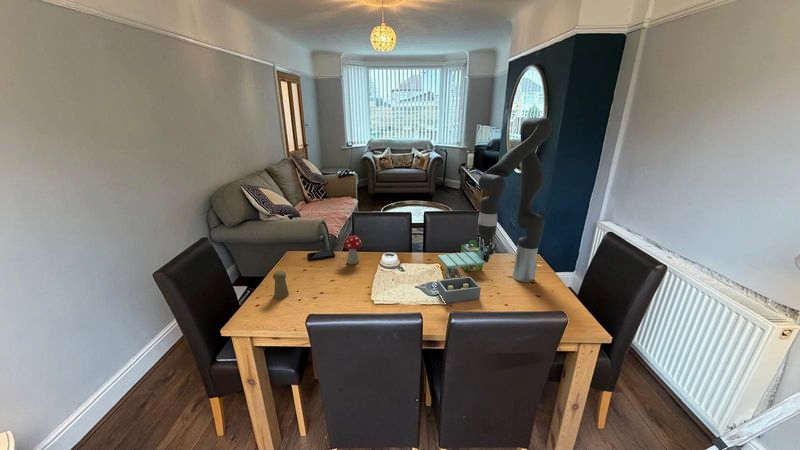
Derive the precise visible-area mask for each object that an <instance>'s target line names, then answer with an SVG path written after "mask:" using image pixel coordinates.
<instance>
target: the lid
mask: <svg viewBox="0 0 800 450" xmlns="http://www.w3.org/2000/svg"><path fill="white" fill-rule="evenodd" d="M487 250H488V249H487ZM487 250H486V252H487ZM483 256H484V250H478V255H477V254H476V253H474V252H465V253H461V252H455V253H446V254H445V253H444V254H438V255H437V258H438V259H439V261H441V262H442V264H444V267H447V268H454V267H455V268H459V267H461V268H462V266H470V265H479V264H483V265H485V264H486V263H485V261H484V260H483ZM490 259H491V255H489V260H490Z"/></svg>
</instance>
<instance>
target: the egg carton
mask: <svg viewBox="0 0 800 450" xmlns="http://www.w3.org/2000/svg"><path fill="white" fill-rule="evenodd" d="M444 271H445V272H444V275H445V277H446V279H454V278H456V277H457V278H463V273H462V271H461V270H460V269H459V267H452V268H447V267H446V266H444Z"/></svg>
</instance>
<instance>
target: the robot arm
mask: <svg viewBox="0 0 800 450" xmlns="http://www.w3.org/2000/svg"><path fill="white" fill-rule="evenodd" d="M552 130H553V123H552V121H551V119H549V118H547V117H526V118H525V119H523V122H522V123H521V125H520V143H519V144H517V145H516V146H514V147H512V148H511V149H509V150H508V151H506V153H504V155H503V156H502V157H501V158H500V159H499V160H498V162H496V164H494V165H493V166H491V167H490V168H489V169H487V170H486V171H484V172H483V173H482V174H481V175H480V177H479V179H478V187H479V189H480V190H482V191H484V192H488V193H489V196H484V197H482V198H481V201H480V206H479V207H480V208H479V214H478V219H477V221H478V222H477V233H476V234H475V240H476V242H477V248H479V250H484V256H483V260H484V261H485V264H486V263H489V260H490V259H489V255H490V256H491V255H493V254H494V252H495V249H496V247H497V244H496V243H494V242H493V241H494V239H493V237H494V236H495V235H496V233H497V225H498V213H499V212H498V210H499V204H500V202H501V198H502V196H503V193H504V191H505V188H506V181H505V180H506V179H505V178H508V177H510V176H511V175H512V173H513V172H514V171H515V170H516V169H517V168H518V166H519V165H520V164H521V166H520V167H521V169H520V171H521V172H520V191H519V192H520V194H519V203H518V204H519V205H518V210H517V218H516V224H517V227H518V228H519V229H520V230H522V231H524V232H527V233H526V236H522V237H521V236H520V237H519V238H518V240H517V245H516V252H515V258H514V259H515V260H514V266H513V271H512V277H513V279H514V280H516V281H519V282H520V283H521V282H522V283H530V282H532V281H533V280H535V278H536V271H537V265H538V261H537V255H538V249H539V245H540V242H541V240H542V237H543V233H544V228H545V218H544V217H543V216H542V215H541V214H538V213H535V212H533V203H534V199H535V198H536V196H537V195H538V194H539V192H540V191H541V190H542V188H543V184H544V169H543V166H542V162H541V161H540V159H539V157H538V155H537V153H536V149H537V148H539V147H540V145H542V144H543V143H544V142H545V141H547V139H548V138H549V137H550V135H551V134H552ZM487 249H488V250H487ZM486 250H487V252H486Z"/></svg>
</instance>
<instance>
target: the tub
mask: <svg viewBox="0 0 800 450" xmlns="http://www.w3.org/2000/svg"><path fill="white" fill-rule="evenodd" d="M453 278H454V277H453ZM437 290H438V291H439V293H440V295H441V296H442V298H443V300H444V301H445V303H446V304H445V305H450V304H457V303H465V302H466V303H467V302H472V301H479V300H480V298H481V290H482V287H481V285H479V284H478V283H477V282H476V281H475V280H474V279H473V278H472V277H471V276H464V277H463V276H462V278H458V277H455V278H454V279H448V278H446V279H439V280H436V291H437Z"/></svg>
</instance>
